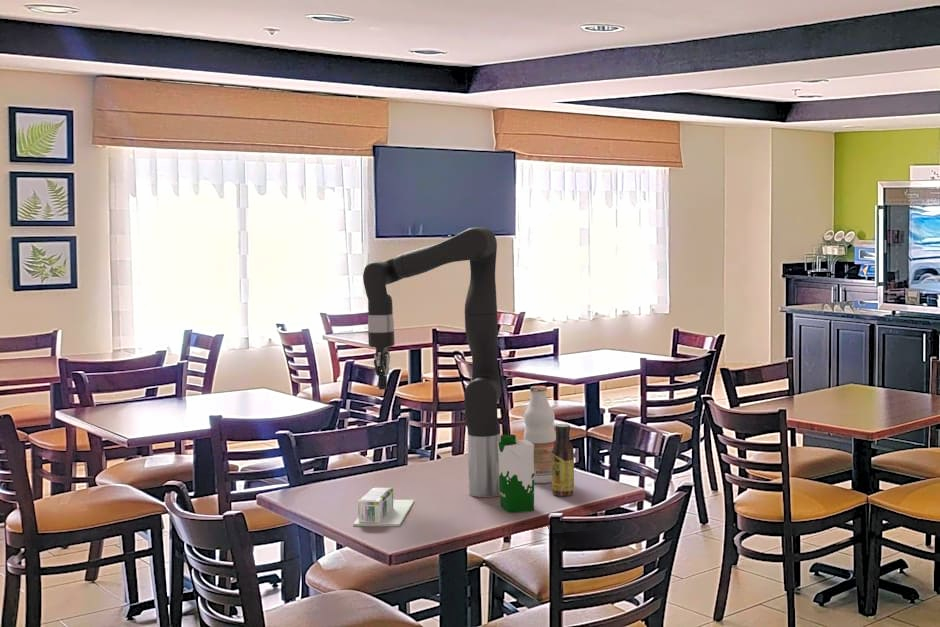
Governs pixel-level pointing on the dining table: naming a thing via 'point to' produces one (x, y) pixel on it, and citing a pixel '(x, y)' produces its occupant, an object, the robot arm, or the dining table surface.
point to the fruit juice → (540, 433)
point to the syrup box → (375, 505)
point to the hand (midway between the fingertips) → (383, 389)
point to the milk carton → (516, 474)
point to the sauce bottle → (562, 462)
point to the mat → (391, 515)
